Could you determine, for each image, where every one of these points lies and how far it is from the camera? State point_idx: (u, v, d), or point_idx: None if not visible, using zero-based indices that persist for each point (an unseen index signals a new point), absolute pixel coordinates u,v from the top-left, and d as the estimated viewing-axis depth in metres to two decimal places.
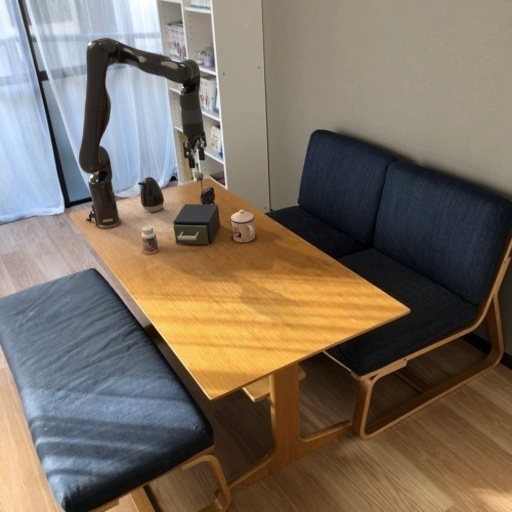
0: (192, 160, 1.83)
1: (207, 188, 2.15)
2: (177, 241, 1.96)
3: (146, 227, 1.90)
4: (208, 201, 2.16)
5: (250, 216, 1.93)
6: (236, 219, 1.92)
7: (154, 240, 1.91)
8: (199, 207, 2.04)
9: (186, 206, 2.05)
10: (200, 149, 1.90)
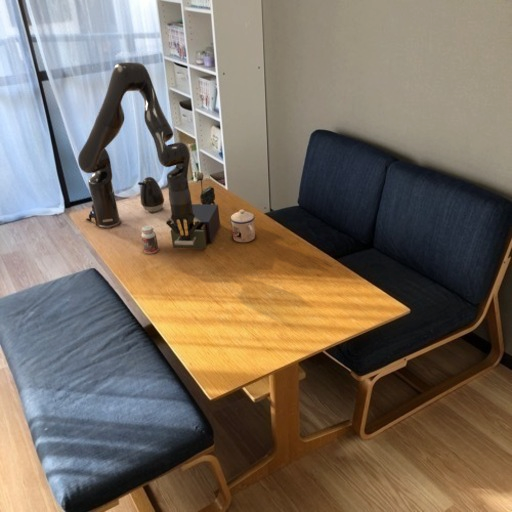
0: (182, 236, 1.86)
1: (207, 188, 2.15)
2: (174, 246, 1.93)
3: (146, 227, 1.90)
4: (208, 201, 2.16)
5: (250, 216, 1.93)
6: (236, 219, 1.92)
7: (154, 240, 1.91)
8: (199, 207, 2.04)
9: None
10: None
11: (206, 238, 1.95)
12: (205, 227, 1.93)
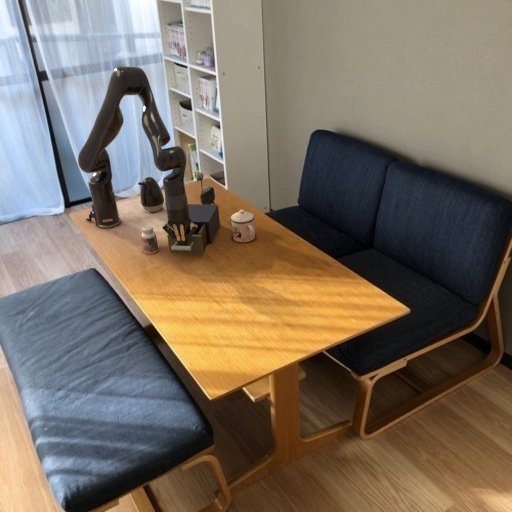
0: (179, 241, 1.83)
1: (207, 188, 2.15)
2: (171, 251, 1.89)
3: (146, 227, 1.90)
4: (208, 201, 2.16)
5: (250, 216, 1.93)
6: (236, 219, 1.92)
7: (154, 240, 1.91)
8: (199, 207, 2.04)
9: None
10: None
11: (204, 243, 1.92)
12: (202, 232, 1.90)
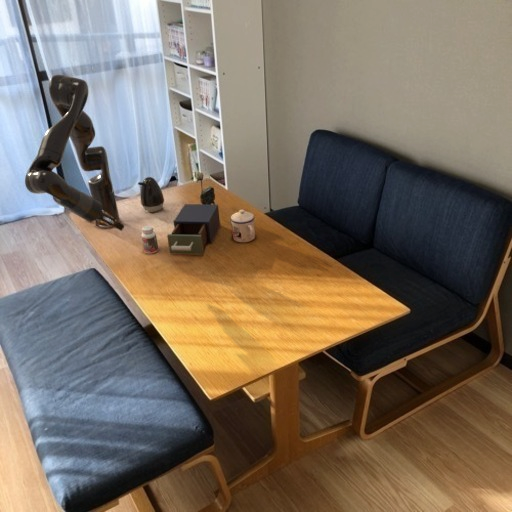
0: None
1: (207, 188, 2.15)
2: (171, 251, 1.89)
3: (146, 227, 1.90)
4: (208, 201, 2.16)
5: (250, 216, 1.93)
6: (236, 219, 1.92)
7: (154, 240, 1.91)
8: (199, 207, 2.04)
9: (186, 206, 2.05)
10: None
11: (203, 243, 1.92)
12: (202, 232, 1.90)
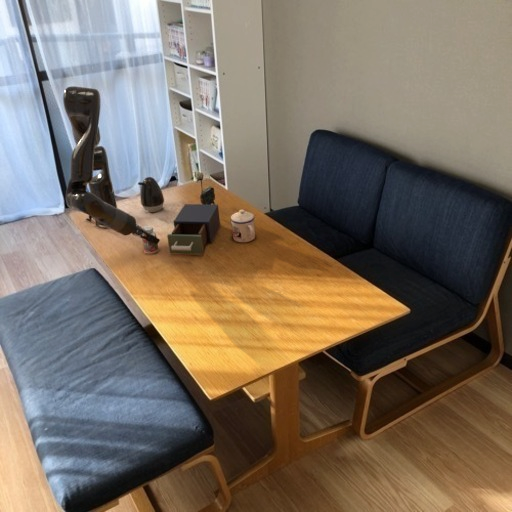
0: None
1: (207, 188, 2.15)
2: (171, 251, 1.89)
3: (146, 227, 1.90)
4: (208, 201, 2.16)
5: (250, 216, 1.93)
6: (236, 219, 1.92)
7: None
8: (199, 207, 2.04)
9: (186, 206, 2.05)
10: None
11: (203, 243, 1.92)
12: (202, 232, 1.90)
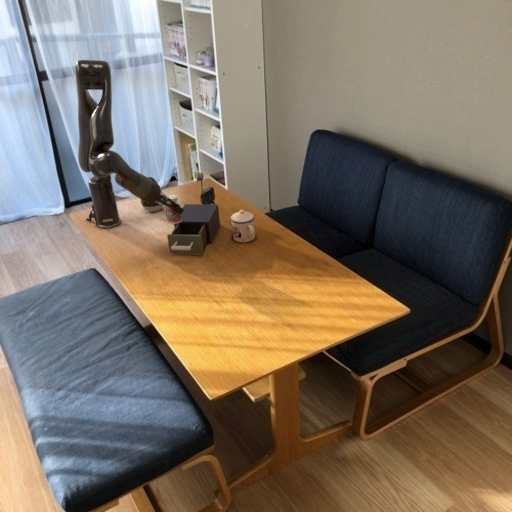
0: None
1: (207, 188, 2.15)
2: (171, 251, 1.89)
3: (170, 196, 1.83)
4: (208, 201, 2.16)
5: (250, 216, 1.93)
6: (236, 219, 1.92)
7: None
8: (199, 207, 2.04)
9: (186, 206, 2.05)
10: None
11: (203, 243, 1.92)
12: (202, 232, 1.90)
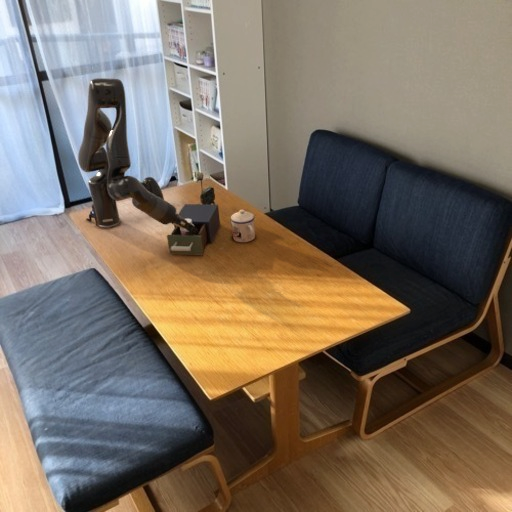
0: None
1: (207, 188, 2.15)
2: (171, 251, 1.89)
3: None
4: (208, 201, 2.16)
5: (250, 216, 1.93)
6: (236, 219, 1.92)
7: (193, 233, 1.89)
8: (199, 207, 2.04)
9: (186, 206, 2.05)
10: None
11: (203, 243, 1.91)
12: (202, 232, 1.89)
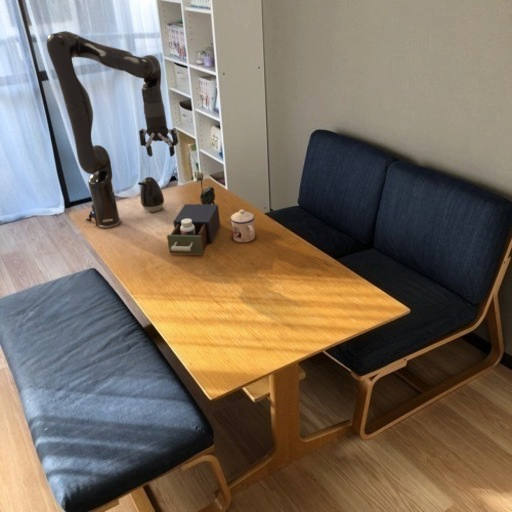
0: (147, 148, 1.96)
1: (207, 188, 2.15)
2: (171, 251, 1.89)
3: (185, 220, 1.88)
4: (208, 201, 2.16)
5: (250, 216, 1.93)
6: (236, 219, 1.92)
7: (193, 233, 1.89)
8: (199, 207, 2.04)
9: (186, 206, 2.05)
10: None
11: (203, 243, 1.91)
12: (202, 232, 1.89)
